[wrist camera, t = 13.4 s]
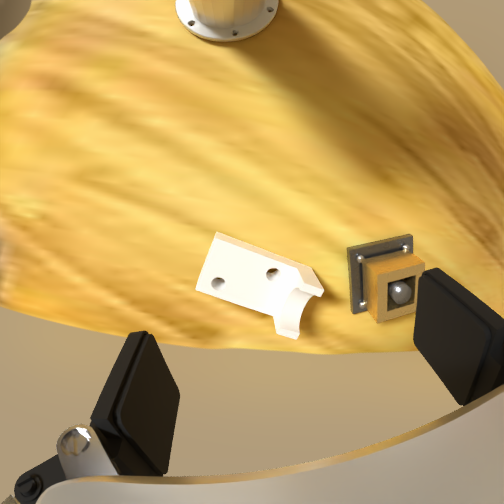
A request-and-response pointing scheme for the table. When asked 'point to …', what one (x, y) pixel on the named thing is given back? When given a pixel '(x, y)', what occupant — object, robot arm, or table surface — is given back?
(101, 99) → the table surface
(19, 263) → the table surface
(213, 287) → the bracket
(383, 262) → the collar
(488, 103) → the table surface
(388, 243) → the peg base plate
